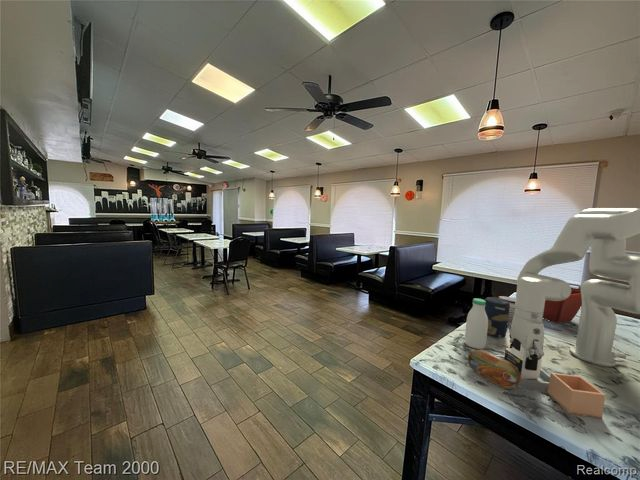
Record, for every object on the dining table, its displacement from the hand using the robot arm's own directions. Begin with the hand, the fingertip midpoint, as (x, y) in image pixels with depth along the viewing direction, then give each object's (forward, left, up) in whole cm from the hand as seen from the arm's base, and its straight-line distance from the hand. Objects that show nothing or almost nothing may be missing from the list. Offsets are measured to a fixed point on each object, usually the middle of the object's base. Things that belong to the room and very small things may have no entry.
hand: (522, 361), depth 86 cm
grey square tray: (0, 0, -5) cm, 5 cm away
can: (-24, -51, -5) cm, 57 cm away
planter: (-7, +13, -5) cm, 15 cm away
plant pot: (-49, -60, -5) cm, 78 cm away
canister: (-6, -30, -5) cm, 31 cm away
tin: (+12, +5, -5) cm, 13 cm away
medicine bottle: (0, 0, -4) cm, 4 cm away
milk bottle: (+7, -18, -5) cm, 20 cm away
